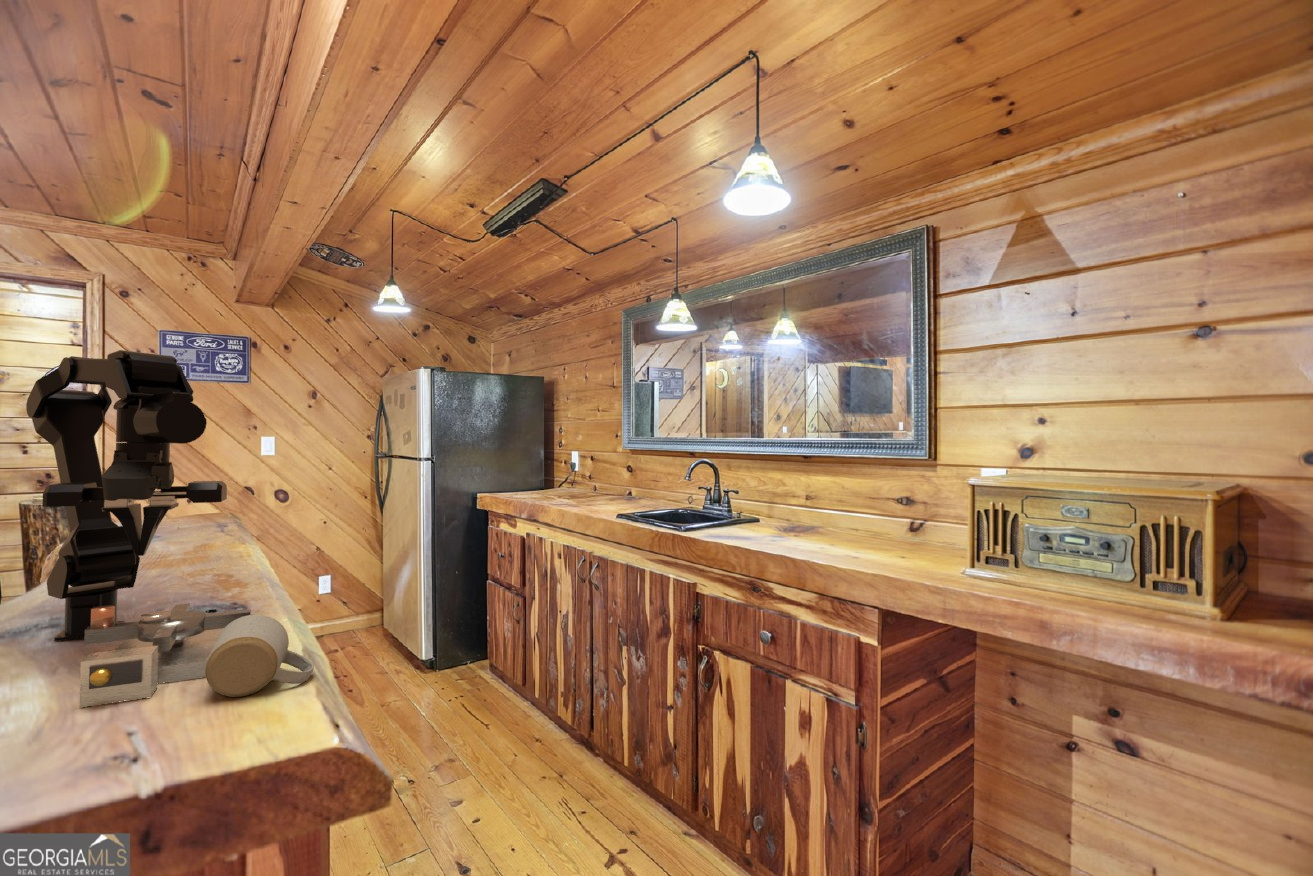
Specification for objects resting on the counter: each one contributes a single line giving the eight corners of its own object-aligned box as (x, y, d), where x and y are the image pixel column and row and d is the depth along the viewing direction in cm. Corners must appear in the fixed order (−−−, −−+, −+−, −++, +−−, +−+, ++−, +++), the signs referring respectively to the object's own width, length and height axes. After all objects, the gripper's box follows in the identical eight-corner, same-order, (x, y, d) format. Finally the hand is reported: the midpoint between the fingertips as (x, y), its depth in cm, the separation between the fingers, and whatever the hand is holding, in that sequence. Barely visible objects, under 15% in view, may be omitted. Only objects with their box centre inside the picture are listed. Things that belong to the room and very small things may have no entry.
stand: (132, 646, 84) (133, 610, 84) (236, 634, 90) (236, 601, 90) (68, 714, 63) (70, 666, 64) (208, 693, 69) (209, 649, 69)
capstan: (253, 609, 91) (254, 581, 91) (246, 641, 77) (247, 608, 77) (104, 625, 82) (104, 594, 82) (64, 665, 68) (65, 627, 68)
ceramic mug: (199, 706, 66) (203, 636, 66) (214, 679, 73) (217, 616, 73) (311, 691, 71) (313, 625, 71) (314, 667, 78) (317, 608, 78)
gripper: (25, 442, 72) (21, 572, 72) (216, 444, 81) (213, 560, 81) (61, 441, 82) (58, 556, 81) (228, 443, 91) (226, 547, 90)
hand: (140, 555), depth 83 cm, fingers closed
